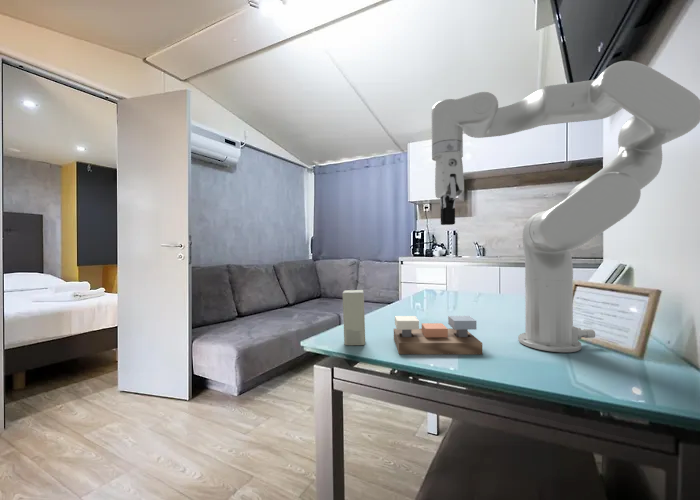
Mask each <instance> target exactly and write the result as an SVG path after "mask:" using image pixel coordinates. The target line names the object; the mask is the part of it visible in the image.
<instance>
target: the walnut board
mask: <svg viewBox="0 0 700 500" xmlns="http://www.w3.org/2000/svg"><path fill="white" fill-rule="evenodd" d="M447 329H448V337H425V336H424V334H423V333H422V328H419V330H411V335H412V337H402V330H397V328H393V340H394V343H395V344H394V345H395V347H396V349H397V352H398V354H399V355H483V342H482V341H480V340H479V338H477V337H476V336H475V335H473V334H472V333H471V332H470V331H468V337H457V336H456V330H454V329H453V328H447Z"/></svg>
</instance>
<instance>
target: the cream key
mask: <svg viewBox="0 0 700 500" xmlns="http://www.w3.org/2000/svg"><path fill="white" fill-rule="evenodd" d="M394 325H395V329H397V330H402V337H412V335H411V330H419V329H420V320H419V319H418V317H417V316H416V315H395V316H394Z"/></svg>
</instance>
